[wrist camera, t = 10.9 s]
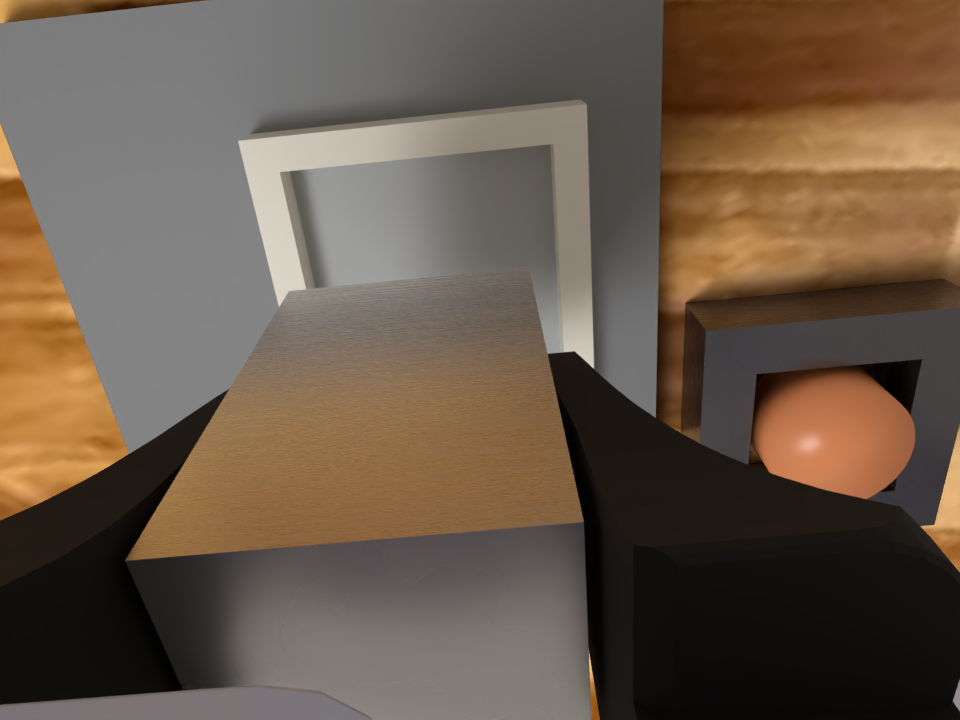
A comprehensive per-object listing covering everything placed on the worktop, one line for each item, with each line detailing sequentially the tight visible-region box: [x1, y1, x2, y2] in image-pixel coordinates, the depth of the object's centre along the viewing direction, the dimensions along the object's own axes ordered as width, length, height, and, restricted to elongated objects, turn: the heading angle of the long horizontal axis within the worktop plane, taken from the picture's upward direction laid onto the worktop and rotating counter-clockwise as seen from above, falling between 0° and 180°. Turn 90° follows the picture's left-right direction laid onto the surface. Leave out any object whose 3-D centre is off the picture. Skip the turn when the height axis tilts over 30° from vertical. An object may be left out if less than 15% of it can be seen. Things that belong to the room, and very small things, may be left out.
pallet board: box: [0, 0, 664, 454], centre depth 19 cm, size 16×14×2 cm
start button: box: [750, 365, 915, 499], centre depth 21 cm, size 4×4×2 cm
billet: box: [125, 268, 591, 720], centre depth 11 cm, size 4×4×7 cm
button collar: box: [681, 279, 960, 526], centre depth 21 cm, size 8×8×2 cm
